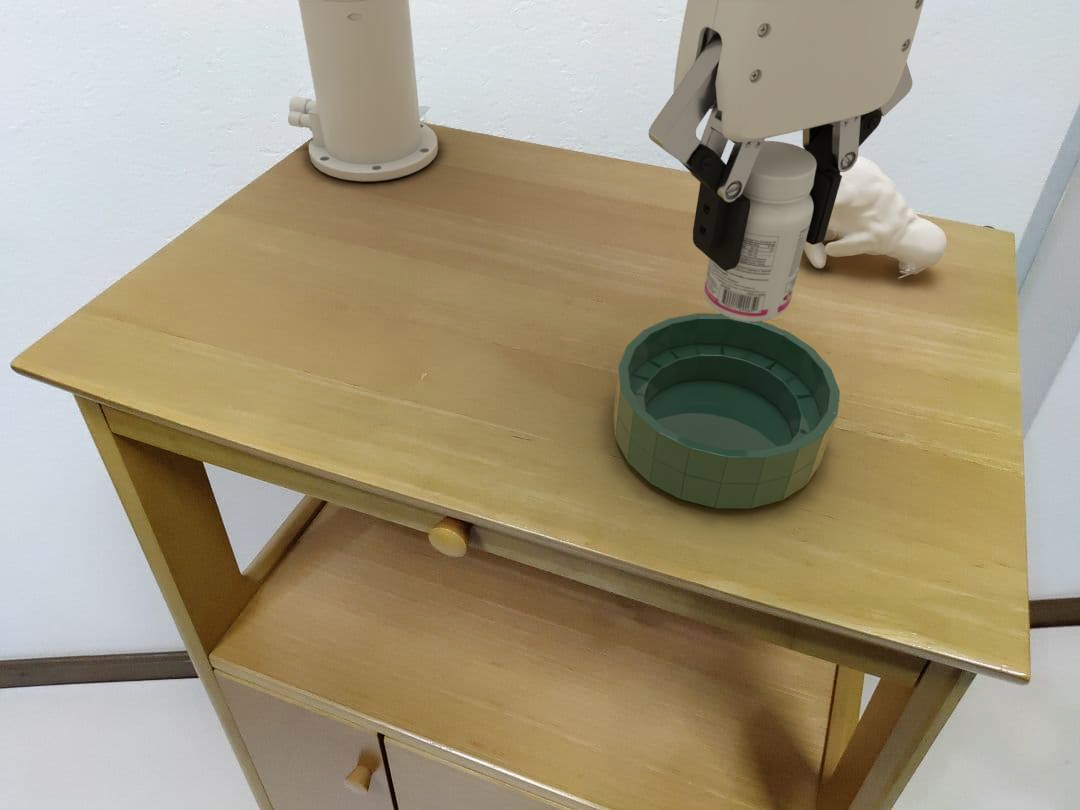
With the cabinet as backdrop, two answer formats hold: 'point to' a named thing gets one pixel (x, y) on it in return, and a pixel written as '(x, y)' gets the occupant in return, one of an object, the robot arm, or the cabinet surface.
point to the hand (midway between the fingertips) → (757, 240)
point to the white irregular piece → (877, 223)
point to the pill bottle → (768, 237)
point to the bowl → (724, 410)
